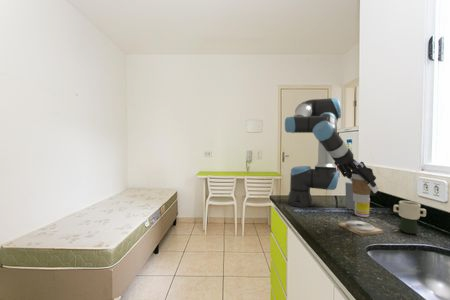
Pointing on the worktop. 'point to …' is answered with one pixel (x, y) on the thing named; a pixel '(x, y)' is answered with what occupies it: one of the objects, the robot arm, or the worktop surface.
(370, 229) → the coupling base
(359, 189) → the coffee cup
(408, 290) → the worktop surface
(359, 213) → the supplement bottle
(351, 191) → the skincare box
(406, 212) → the character mug
